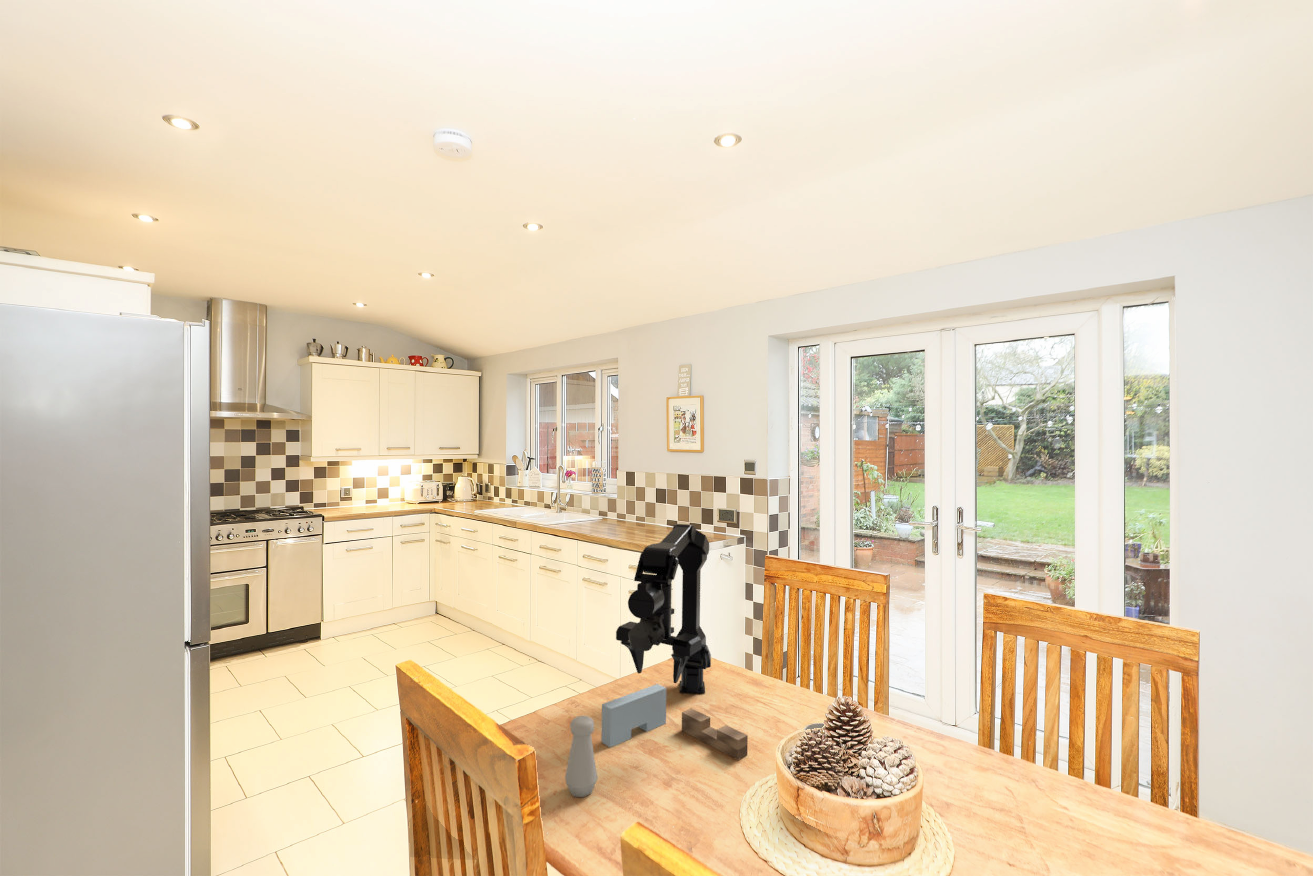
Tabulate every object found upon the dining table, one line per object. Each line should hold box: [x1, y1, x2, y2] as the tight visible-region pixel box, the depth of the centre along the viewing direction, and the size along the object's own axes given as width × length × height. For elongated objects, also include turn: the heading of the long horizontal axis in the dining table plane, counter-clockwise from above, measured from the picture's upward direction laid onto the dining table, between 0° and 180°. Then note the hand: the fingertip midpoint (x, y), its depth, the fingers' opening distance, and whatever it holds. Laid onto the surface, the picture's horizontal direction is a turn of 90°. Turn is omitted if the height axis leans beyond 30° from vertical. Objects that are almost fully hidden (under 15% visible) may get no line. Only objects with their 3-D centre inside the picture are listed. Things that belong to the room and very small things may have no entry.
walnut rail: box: [681, 707, 749, 761], centre depth 123 cm, size 16×3×4 cm, turn 43°
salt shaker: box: [564, 715, 598, 798], centre depth 106 cm, size 6×6×13 cm
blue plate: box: [600, 683, 667, 748], centre depth 127 cm, size 16×3×8 cm, turn 132°
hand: (657, 677), depth 125 cm, fingers open, 9 cm apart
